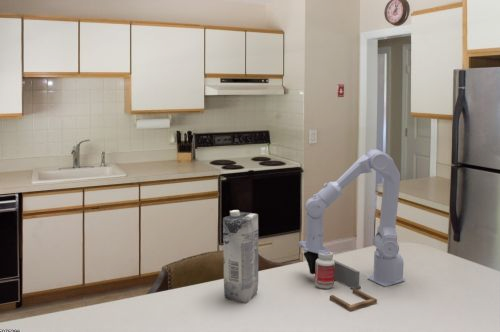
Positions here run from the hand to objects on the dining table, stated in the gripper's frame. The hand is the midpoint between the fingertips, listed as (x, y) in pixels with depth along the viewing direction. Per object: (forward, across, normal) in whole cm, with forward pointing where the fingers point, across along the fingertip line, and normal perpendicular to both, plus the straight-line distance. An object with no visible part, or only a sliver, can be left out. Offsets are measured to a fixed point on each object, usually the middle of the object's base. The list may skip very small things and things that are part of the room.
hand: (313, 273), depth 157 cm
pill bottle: (+2, +6, 0) cm, 6 cm away
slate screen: (+2, +6, +7) cm, 10 cm away
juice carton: (+3, -1, -27) cm, 27 cm away
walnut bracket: (+2, +18, 0) cm, 19 cm away
